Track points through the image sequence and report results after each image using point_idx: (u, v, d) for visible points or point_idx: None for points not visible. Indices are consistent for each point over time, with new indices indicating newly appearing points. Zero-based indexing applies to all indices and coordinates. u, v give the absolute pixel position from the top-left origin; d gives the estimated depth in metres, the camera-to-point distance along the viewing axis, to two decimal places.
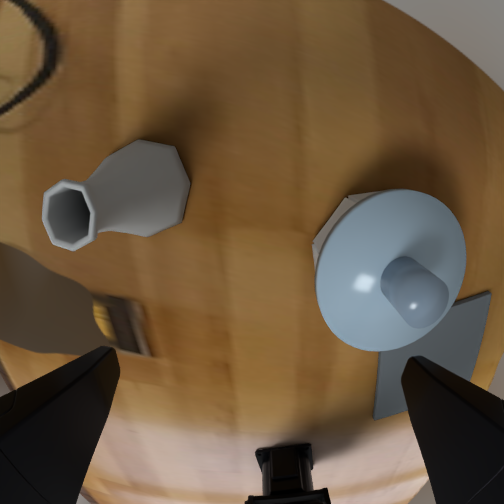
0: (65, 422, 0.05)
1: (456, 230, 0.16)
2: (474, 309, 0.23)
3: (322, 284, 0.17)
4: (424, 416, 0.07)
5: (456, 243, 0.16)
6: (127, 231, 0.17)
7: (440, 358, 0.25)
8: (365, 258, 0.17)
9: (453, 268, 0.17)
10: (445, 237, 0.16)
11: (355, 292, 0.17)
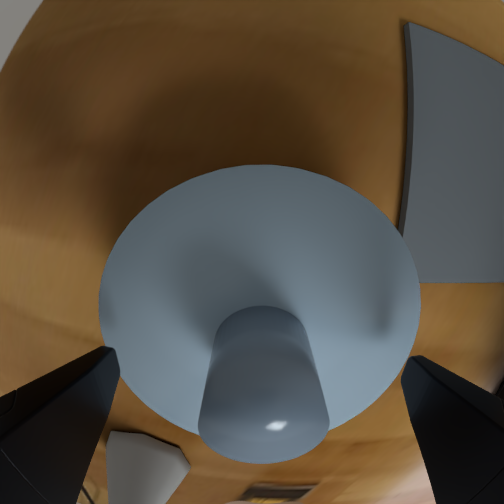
0: (65, 422, 0.05)
1: (178, 201, 0.08)
2: (432, 68, 0.10)
3: None
4: (424, 415, 0.07)
5: (209, 203, 0.08)
6: (165, 501, 0.15)
7: (499, 158, 0.11)
8: None
9: (276, 210, 0.08)
10: (189, 237, 0.08)
11: None
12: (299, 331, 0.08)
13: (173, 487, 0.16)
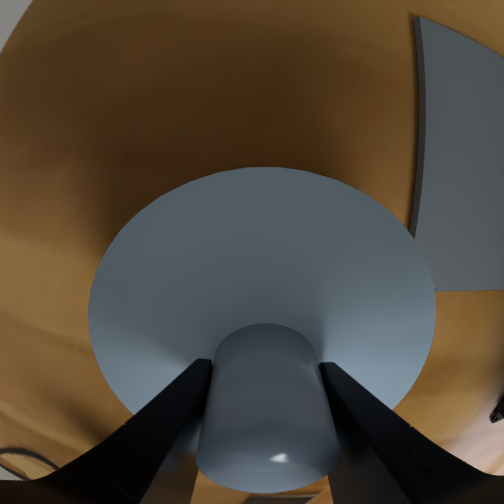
0: (186, 450, 0.05)
1: (172, 209, 0.07)
2: (444, 65, 0.09)
3: None
4: None
5: (207, 210, 0.07)
6: None
7: None
8: None
9: (283, 219, 0.07)
10: (185, 248, 0.07)
11: None
12: (307, 352, 0.07)
13: None
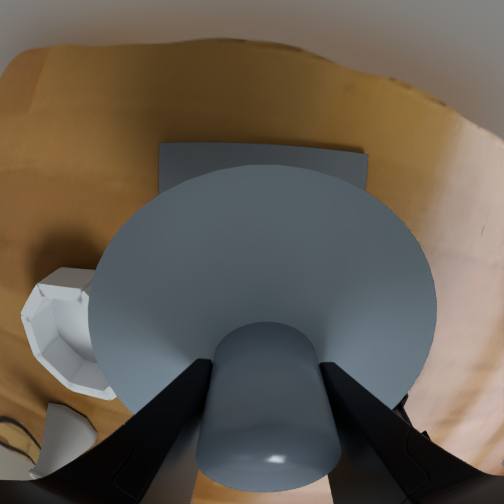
0: (186, 450, 0.05)
1: (172, 206, 0.07)
2: (176, 179, 0.18)
3: None
4: None
5: (208, 208, 0.07)
6: (75, 452, 0.23)
7: None
8: None
9: (283, 216, 0.07)
10: (185, 246, 0.07)
11: None
12: (307, 350, 0.07)
13: (82, 444, 0.24)
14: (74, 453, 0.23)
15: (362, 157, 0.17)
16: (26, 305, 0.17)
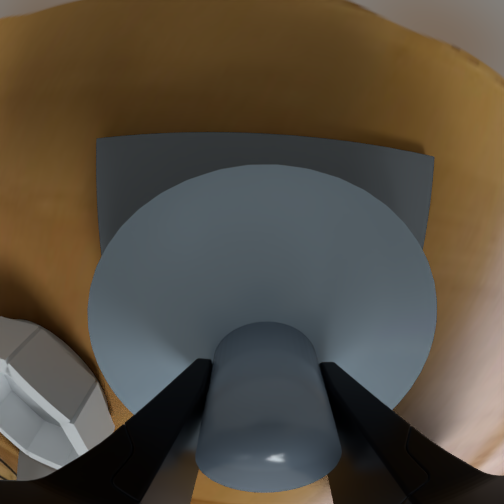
0: (186, 450, 0.05)
1: (171, 206, 0.07)
2: (123, 197, 0.10)
3: None
4: None
5: (208, 208, 0.07)
6: None
7: None
8: None
9: (283, 216, 0.07)
10: (185, 246, 0.07)
11: None
12: (307, 350, 0.07)
13: None
14: None
15: (426, 160, 0.10)
16: None
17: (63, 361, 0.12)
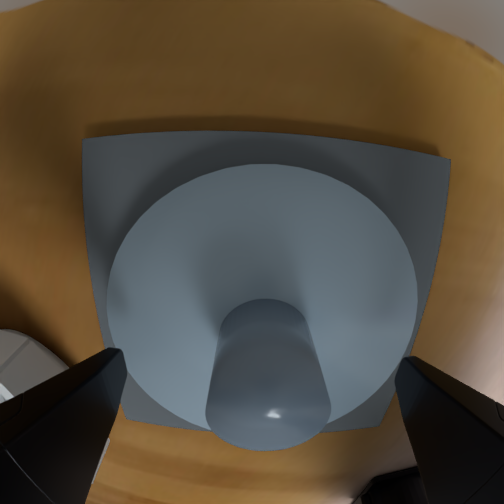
0: (74, 425, 0.05)
1: (185, 198, 0.08)
2: (111, 203, 0.09)
3: None
4: (418, 417, 0.07)
5: (216, 200, 0.08)
6: None
7: None
8: None
9: (279, 207, 0.08)
10: (196, 233, 0.09)
11: None
12: (301, 322, 0.09)
13: None
14: None
15: (442, 163, 0.09)
16: None
17: (53, 375, 0.11)
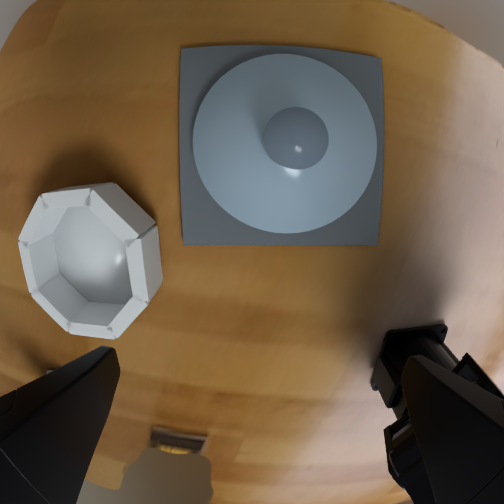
0: (65, 422, 0.05)
1: (245, 68, 0.15)
2: (198, 79, 0.16)
3: (274, 227, 0.18)
4: (425, 415, 0.07)
5: (261, 68, 0.15)
6: None
7: None
8: (255, 181, 0.17)
9: (291, 71, 0.15)
10: (251, 83, 0.15)
11: (291, 194, 0.17)
12: None
13: None
14: None
15: (376, 59, 0.15)
16: (25, 226, 0.15)
17: (132, 204, 0.18)
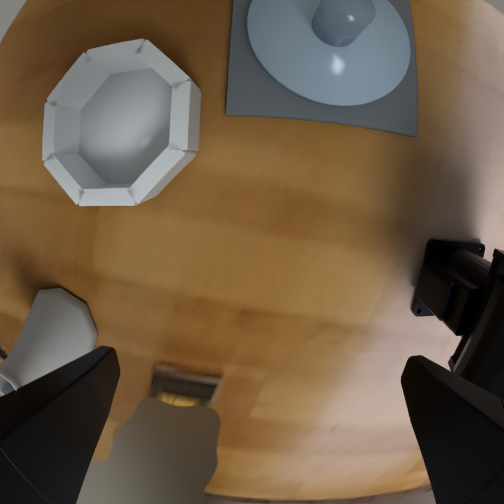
0: (65, 422, 0.05)
1: None
2: None
3: (321, 96, 0.16)
4: (424, 416, 0.07)
5: None
6: (63, 352, 0.19)
7: None
8: (305, 54, 0.15)
9: None
10: None
11: (337, 69, 0.15)
12: None
13: (74, 342, 0.20)
14: (61, 354, 0.19)
15: None
16: (59, 84, 0.13)
17: None
